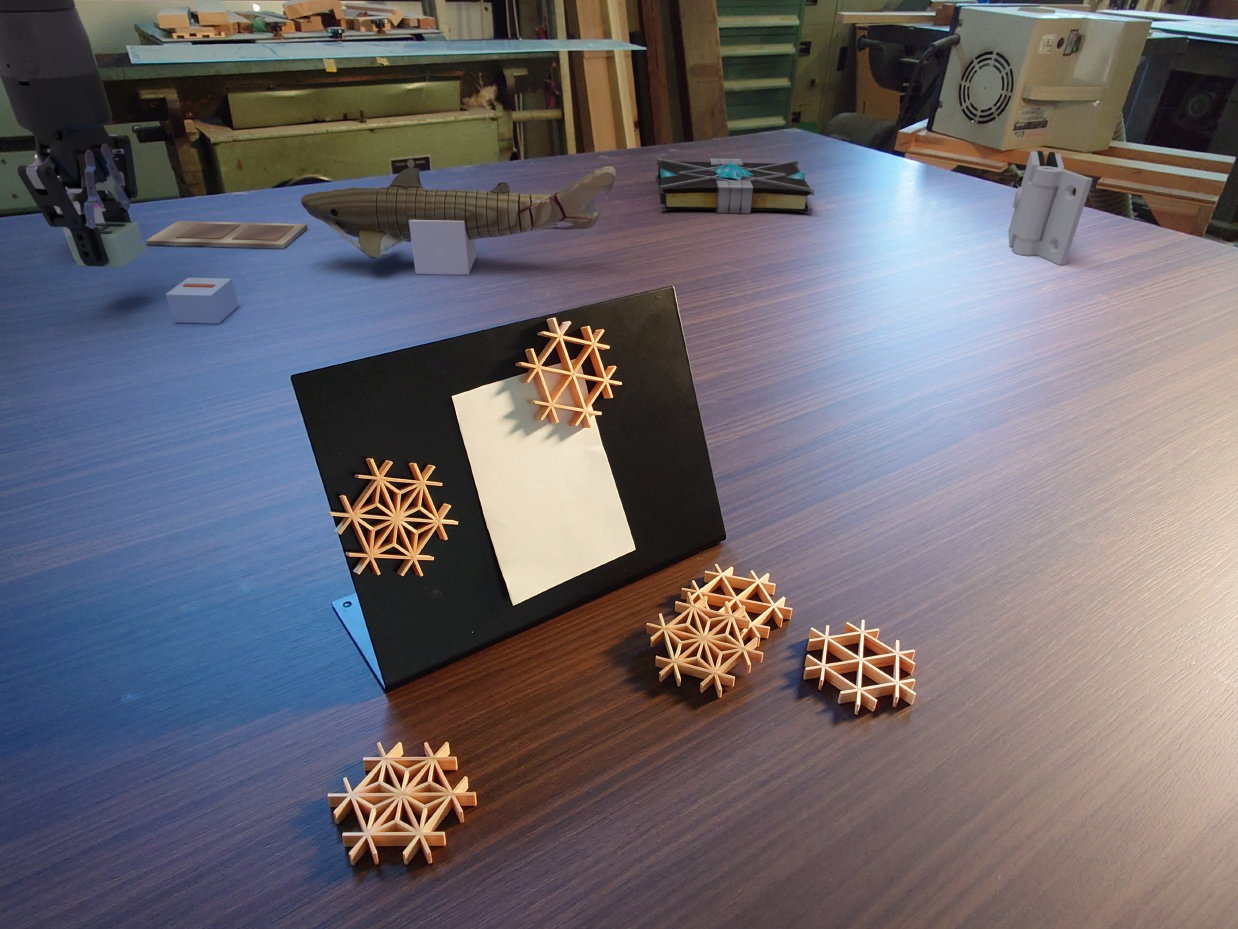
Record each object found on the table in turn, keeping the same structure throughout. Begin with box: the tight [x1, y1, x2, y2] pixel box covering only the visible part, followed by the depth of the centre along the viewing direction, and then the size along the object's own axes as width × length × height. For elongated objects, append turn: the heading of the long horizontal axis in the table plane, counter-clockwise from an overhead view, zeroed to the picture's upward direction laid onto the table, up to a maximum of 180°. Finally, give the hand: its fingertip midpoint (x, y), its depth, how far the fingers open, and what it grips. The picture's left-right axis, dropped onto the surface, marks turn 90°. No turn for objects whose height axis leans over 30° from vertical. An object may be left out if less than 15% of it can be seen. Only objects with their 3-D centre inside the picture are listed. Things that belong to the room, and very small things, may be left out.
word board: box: [145, 220, 309, 250], centre depth 101 cm, size 17×8×1 cm, turn 88°
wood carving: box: [300, 165, 617, 276], centre depth 91 cm, size 9×35×11 cm, turn 91°
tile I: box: [165, 277, 239, 325], centre depth 81 cm, size 4×4×3 cm
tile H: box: [67, 221, 147, 268], centre depth 80 cm, size 4×4×3 cm
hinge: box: [1008, 150, 1094, 266], centre depth 100 cm, size 14×5×10 cm, turn 171°
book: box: [655, 157, 816, 215], centre depth 118 cm, size 22×17×5 cm
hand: (111, 255), depth 81 cm, fingers closed on tile H, 4 cm apart
